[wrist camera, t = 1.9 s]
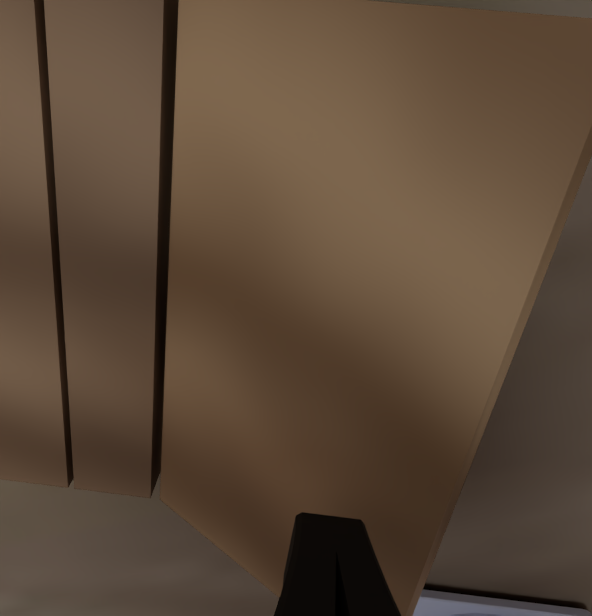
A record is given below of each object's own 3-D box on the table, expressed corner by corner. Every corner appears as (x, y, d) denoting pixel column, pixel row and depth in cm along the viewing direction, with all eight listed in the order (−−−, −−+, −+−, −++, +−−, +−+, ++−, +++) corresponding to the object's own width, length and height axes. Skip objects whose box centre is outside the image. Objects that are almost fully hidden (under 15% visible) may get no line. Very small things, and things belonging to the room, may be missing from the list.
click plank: (401, 642, 13) (380, 681, 12) (188, 479, 17) (160, 499, 16) (638, 34, 7) (631, 21, 6) (221, -4, 11) (179, -15, 10)
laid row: (160, 470, 17) (150, 498, 16) (11, 451, 17) (-10, 478, 16) (178, -9, 11) (164, -18, 10) (-54, -48, 11) (-95, -61, 10)
